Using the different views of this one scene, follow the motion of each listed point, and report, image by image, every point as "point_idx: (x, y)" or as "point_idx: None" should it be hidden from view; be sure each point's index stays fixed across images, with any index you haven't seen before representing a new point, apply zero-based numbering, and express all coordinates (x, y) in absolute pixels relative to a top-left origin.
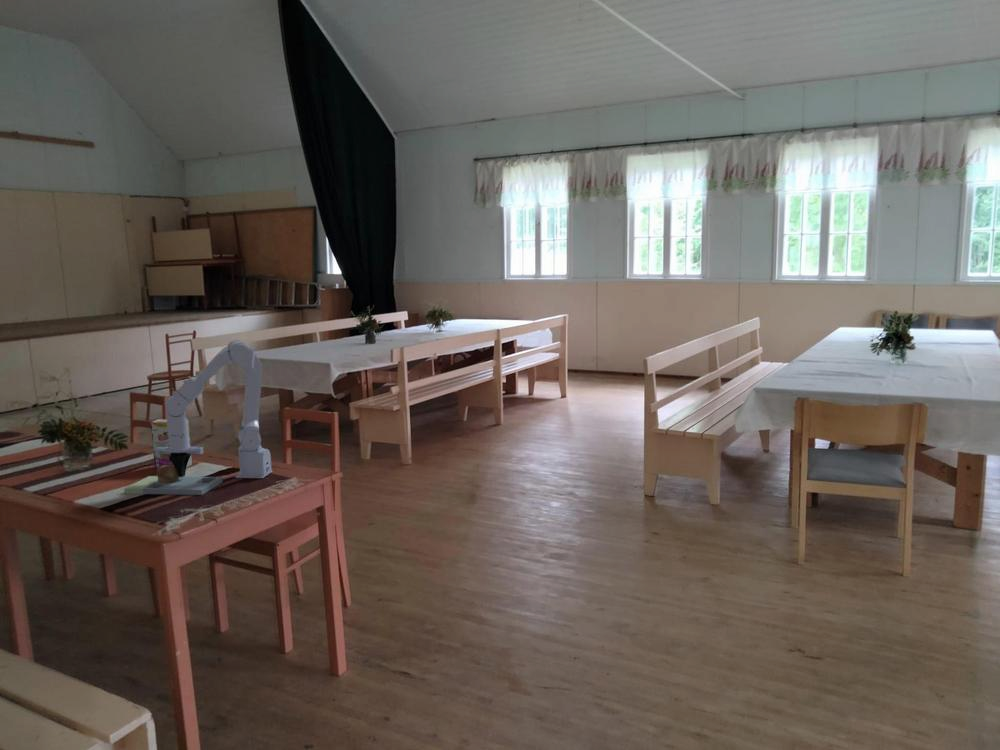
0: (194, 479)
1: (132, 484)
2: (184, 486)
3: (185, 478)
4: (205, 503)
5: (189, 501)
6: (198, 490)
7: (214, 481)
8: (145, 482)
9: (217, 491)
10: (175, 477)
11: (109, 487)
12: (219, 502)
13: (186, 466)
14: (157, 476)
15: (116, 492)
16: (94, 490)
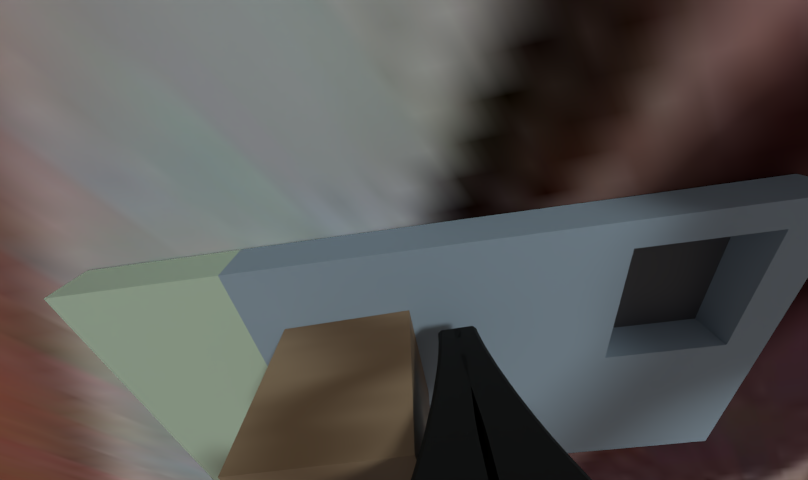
0: (566, 303)
1: (183, 444)
2: (563, 420)
3: (460, 293)
4: (726, 468)
5: (639, 465)
6: (680, 437)
7: (777, 314)
8: (222, 411)
9: (767, 355)
10: (421, 379)
11: (19, 408)
12: (795, 454)
13: (524, 404)
14: (136, 292)
15: (170, 447)
16: (16, 446)
